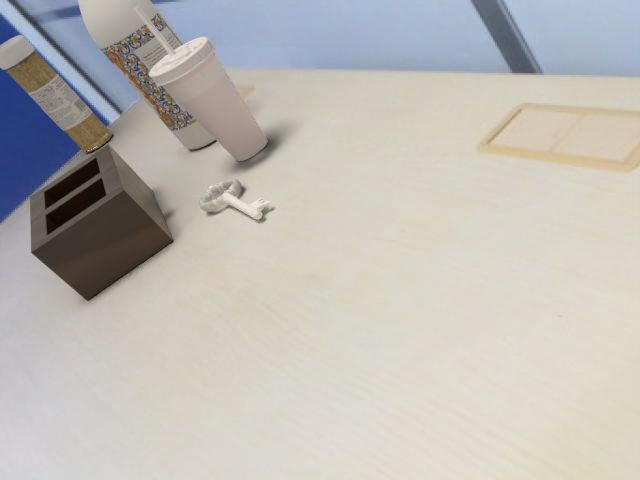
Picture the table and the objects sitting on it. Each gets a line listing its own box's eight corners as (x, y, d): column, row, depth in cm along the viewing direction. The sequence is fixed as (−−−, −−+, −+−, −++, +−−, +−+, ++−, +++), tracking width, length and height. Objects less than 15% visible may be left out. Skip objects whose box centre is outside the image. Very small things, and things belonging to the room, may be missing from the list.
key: (233, 181, 70) (197, 208, 69) (226, 172, 70) (190, 199, 69) (282, 204, 63) (242, 236, 62) (274, 195, 62) (234, 226, 61)
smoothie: (255, 131, 78) (148, -8, 67) (290, 129, 74) (183, -19, 64) (213, 170, 75) (95, 31, 65) (247, 169, 71) (128, 23, 61)
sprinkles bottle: (95, 139, 101) (2, 41, 91) (119, 129, 99) (27, 28, 90) (78, 158, 98) (-20, 59, 88) (103, 148, 97) (6, 46, 87)
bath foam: (186, 139, 85) (25, -49, 71) (237, 107, 85) (88, -87, 71) (188, 159, 80) (16, -38, 66) (242, 125, 80) (83, -79, 66)
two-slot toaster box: (77, 240, 77) (29, 196, 73) (152, 190, 78) (108, 143, 74) (87, 301, 66) (30, 252, 62) (173, 240, 67) (123, 189, 63)
